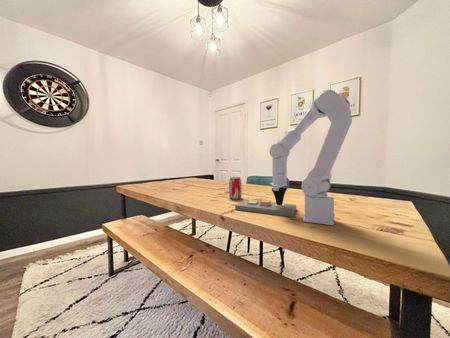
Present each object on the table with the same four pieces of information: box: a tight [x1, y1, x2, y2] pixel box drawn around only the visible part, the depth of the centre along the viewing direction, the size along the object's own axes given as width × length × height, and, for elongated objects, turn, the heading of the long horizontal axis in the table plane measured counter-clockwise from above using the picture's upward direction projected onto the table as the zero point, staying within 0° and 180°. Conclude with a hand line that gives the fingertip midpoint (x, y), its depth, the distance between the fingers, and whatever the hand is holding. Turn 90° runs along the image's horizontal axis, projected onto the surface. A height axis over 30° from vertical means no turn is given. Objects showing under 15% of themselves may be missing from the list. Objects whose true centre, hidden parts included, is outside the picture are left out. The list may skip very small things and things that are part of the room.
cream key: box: [274, 203, 286, 208], centre depth 78 cm, size 4×4×2 cm
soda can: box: [228, 176, 243, 200], centre depth 105 cm, size 7×7×12 cm
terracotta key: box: [259, 199, 271, 207], centre depth 81 cm, size 4×4×2 cm
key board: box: [234, 199, 297, 218], centre depth 81 cm, size 24×12×2 cm, turn 62°
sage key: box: [247, 200, 259, 205], centre depth 84 cm, size 4×4×2 cm
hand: (279, 204), depth 78 cm, fingers closed, pressing on cream key
